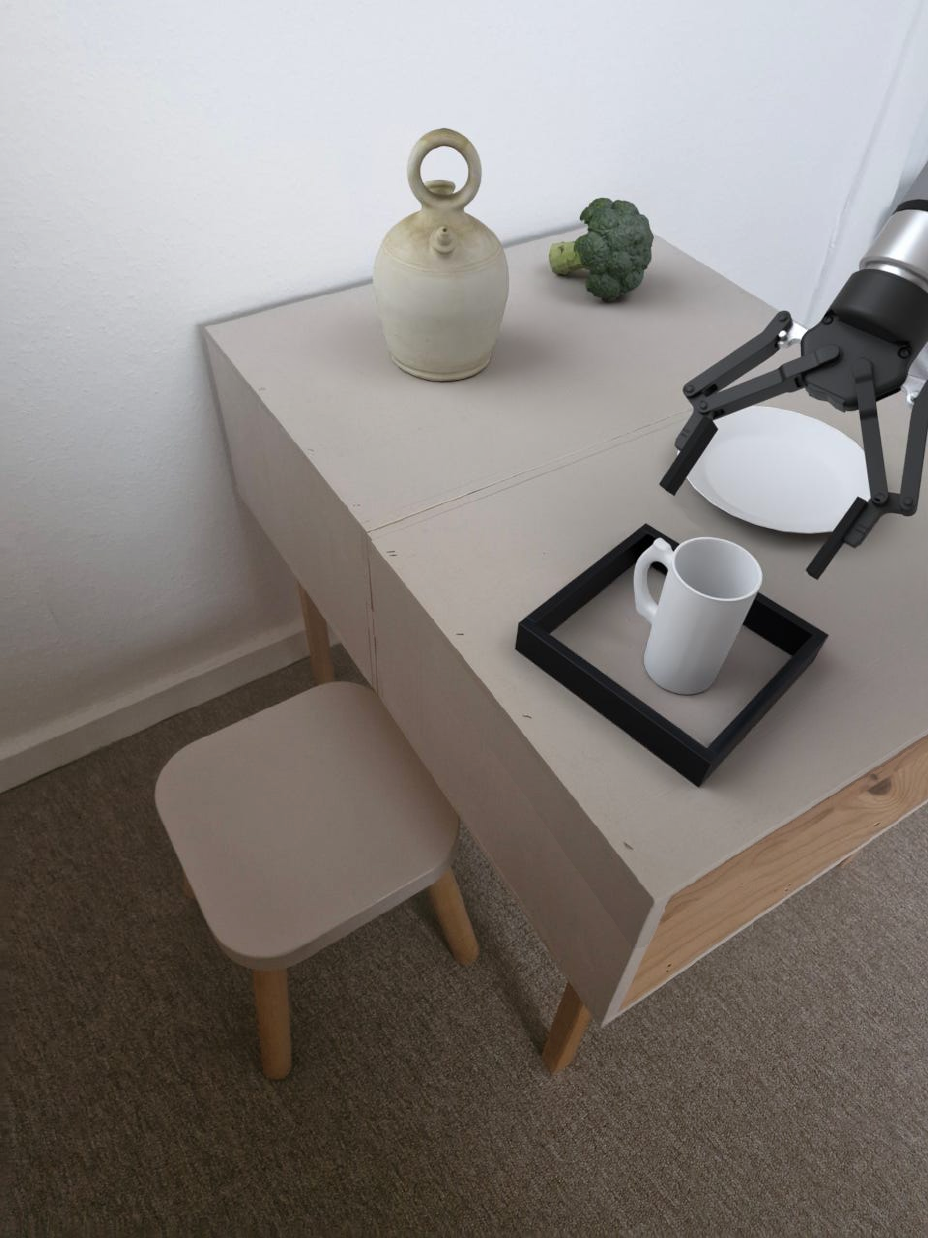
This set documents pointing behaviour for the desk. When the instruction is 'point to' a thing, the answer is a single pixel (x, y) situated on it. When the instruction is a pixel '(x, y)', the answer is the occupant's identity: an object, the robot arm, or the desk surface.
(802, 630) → the black square frame
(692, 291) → the desk surface
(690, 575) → the mug
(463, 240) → the jug
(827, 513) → the plate
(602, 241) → the vegetable
